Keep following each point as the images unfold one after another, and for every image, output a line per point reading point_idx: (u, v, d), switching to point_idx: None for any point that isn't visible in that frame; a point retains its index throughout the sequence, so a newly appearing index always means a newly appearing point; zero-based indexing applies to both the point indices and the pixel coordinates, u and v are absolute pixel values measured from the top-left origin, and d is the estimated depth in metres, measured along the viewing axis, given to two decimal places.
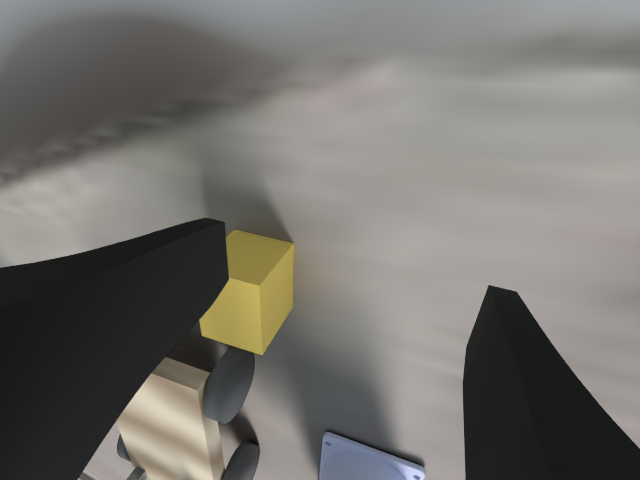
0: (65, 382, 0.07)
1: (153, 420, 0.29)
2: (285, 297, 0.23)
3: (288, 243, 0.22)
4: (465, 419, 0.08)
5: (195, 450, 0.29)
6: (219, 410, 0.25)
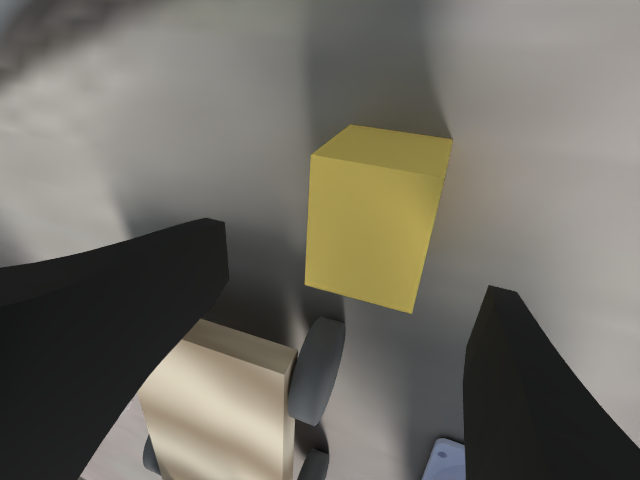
0: (65, 382, 0.07)
1: (203, 420, 0.20)
2: None
3: (444, 139, 0.14)
4: (465, 419, 0.08)
5: (262, 463, 0.20)
6: (314, 406, 0.17)
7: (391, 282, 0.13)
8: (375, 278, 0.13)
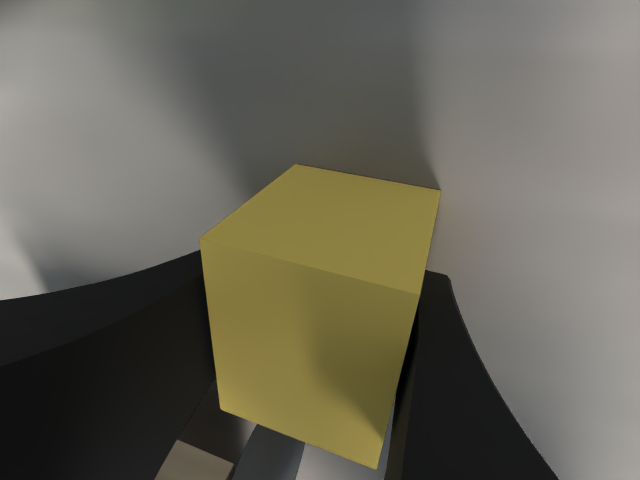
0: (133, 410, 0.06)
1: None
2: None
3: (428, 191, 0.09)
4: (396, 396, 0.09)
5: None
6: None
7: (342, 426, 0.08)
8: (318, 418, 0.08)
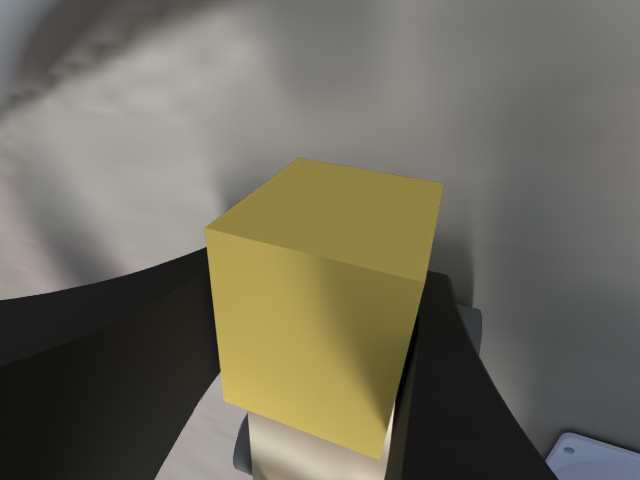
0: (132, 410, 0.06)
1: None
2: None
3: (430, 184, 0.09)
4: (396, 396, 0.09)
5: (384, 460, 0.19)
6: None
7: (346, 417, 0.08)
8: (322, 408, 0.08)
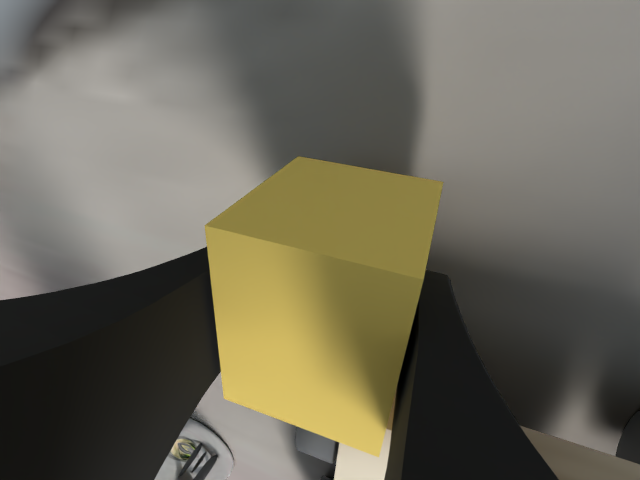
0: (133, 410, 0.06)
1: None
2: None
3: (430, 183, 0.09)
4: None
5: None
6: None
7: (345, 414, 0.08)
8: (321, 405, 0.08)
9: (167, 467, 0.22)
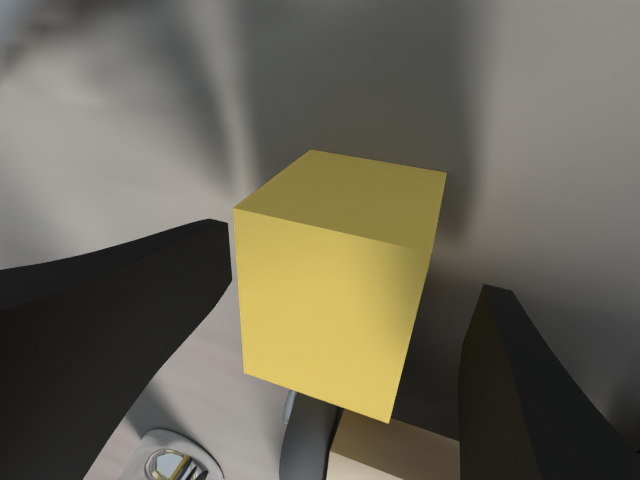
0: (69, 384, 0.07)
1: None
2: None
3: (434, 172, 0.10)
4: (460, 417, 0.08)
5: None
6: None
7: (358, 383, 0.09)
8: (336, 375, 0.09)
9: None
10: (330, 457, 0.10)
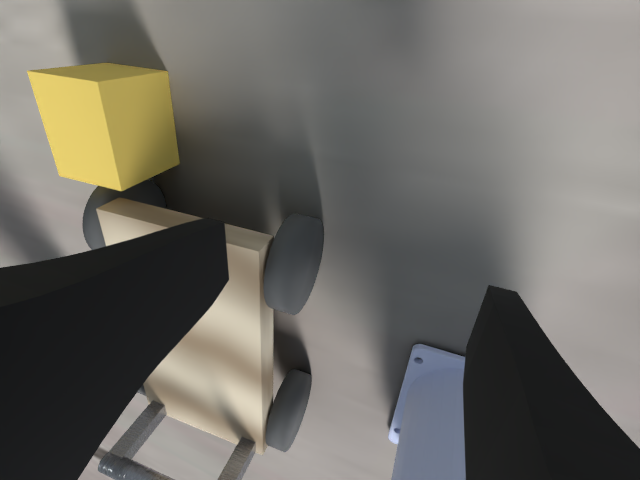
0: (65, 382, 0.07)
1: None
2: (161, 138, 0.20)
3: (160, 70, 0.19)
4: (465, 419, 0.08)
5: (241, 362, 0.21)
6: (288, 286, 0.17)
7: (102, 166, 0.18)
8: (93, 164, 0.18)
9: None
10: (97, 213, 0.19)
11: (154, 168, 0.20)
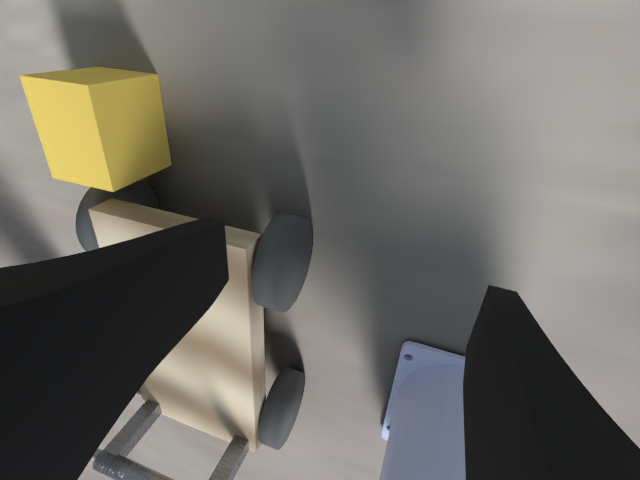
0: (65, 382, 0.07)
1: None
2: (152, 140, 0.20)
3: (151, 73, 0.20)
4: (465, 419, 0.08)
5: (232, 359, 0.21)
6: (275, 283, 0.17)
7: (93, 168, 0.18)
8: (85, 166, 0.19)
9: None
10: (89, 213, 0.19)
11: (146, 169, 0.21)
